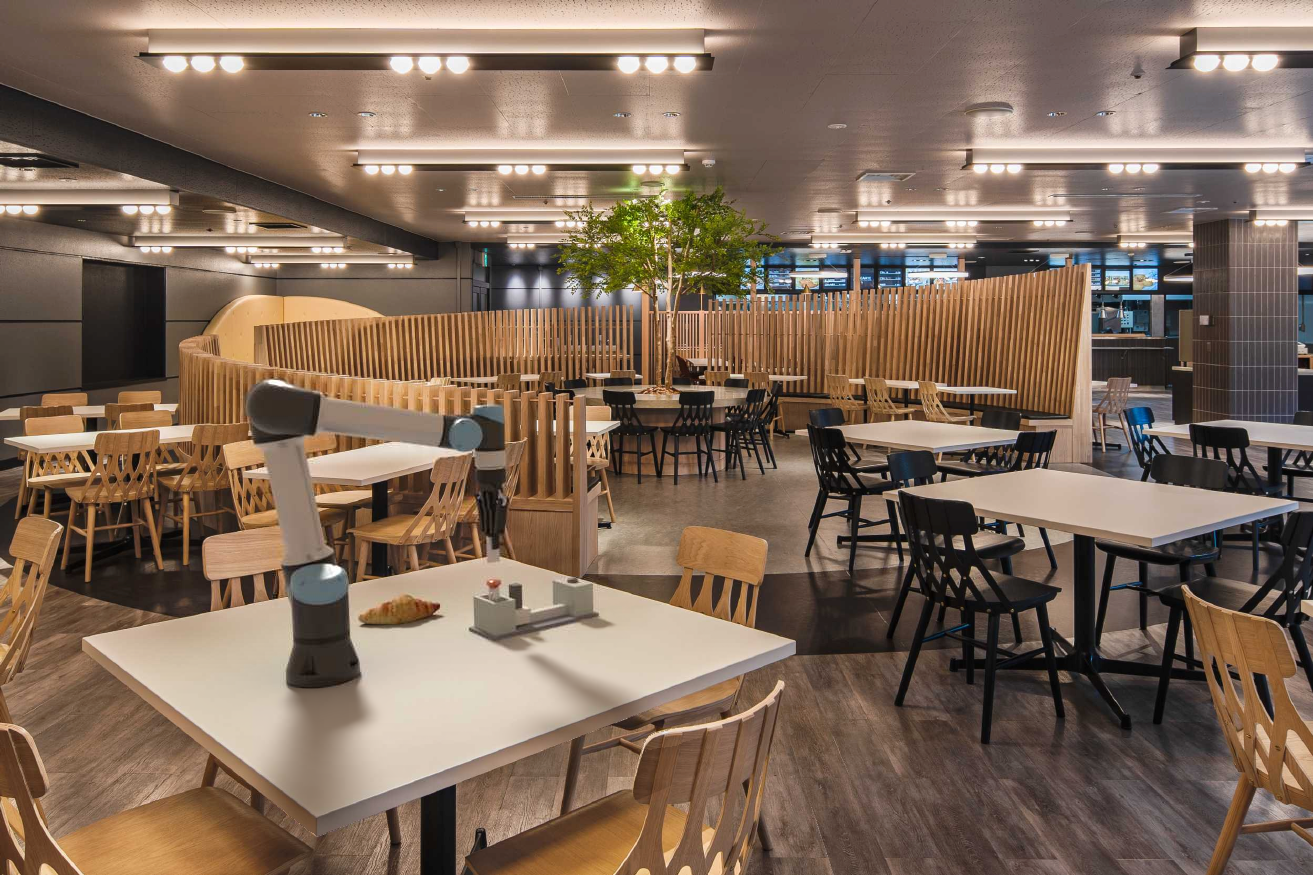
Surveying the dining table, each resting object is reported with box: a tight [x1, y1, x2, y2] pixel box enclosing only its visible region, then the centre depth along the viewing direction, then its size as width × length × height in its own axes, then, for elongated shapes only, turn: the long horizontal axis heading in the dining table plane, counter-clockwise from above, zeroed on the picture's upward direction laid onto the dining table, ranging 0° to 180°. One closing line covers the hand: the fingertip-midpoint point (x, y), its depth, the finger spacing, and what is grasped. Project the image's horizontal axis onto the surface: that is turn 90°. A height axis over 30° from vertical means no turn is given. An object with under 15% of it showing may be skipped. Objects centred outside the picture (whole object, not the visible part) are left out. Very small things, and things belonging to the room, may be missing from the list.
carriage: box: [508, 582, 532, 626], centre depth 232 cm, size 5×6×10 cm
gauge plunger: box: [486, 578, 502, 603], centre depth 228 cm, size 4×4×9 cm
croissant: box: [357, 594, 441, 625], centre depth 241 cm, size 21×10×8 cm, turn 118°
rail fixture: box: [468, 576, 600, 642], centre depth 236 cm, size 32×12×10 cm, turn 131°
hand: (493, 561), depth 227 cm, fingers closed
